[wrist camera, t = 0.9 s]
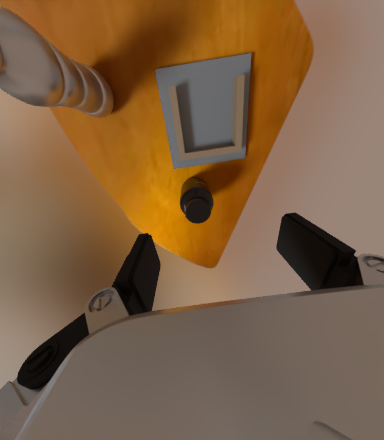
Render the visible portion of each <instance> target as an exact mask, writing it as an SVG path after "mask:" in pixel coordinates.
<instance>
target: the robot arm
mask: <svg viewBox="0 0 384 440" xmlns="http://www.w3.org/2000/svg"><path fill="white" fill-rule="evenodd" d="M277 250H278V252H279V253H280V254H281V255H282V256H283V258H284V259H285V260H286V261H287V262H288V263H289V265H290V266H291V267H292V268H293V269H294V271H295V272H296V273H297V274H298V275H299V276H300V277H301V279H302V280H303V281H304V282H305V283H306V285H307V286H308V287H309V288H310V289H311V290H312V291H304V292H296V293H288V294H279V295H272V296H263V297H256V298H247V299H239V300H231V301H224V302H215V303H208V304H200V305H192V306H186V307H177V308H170V309H165V310H157V311H152V307H153V302H154V296H155V291H156V286H157V281H158V276H159V271H160V260H159V257H158V254H157V251H156V248H155V245H154V242H153V239H152V236H151V235H149V234H148V233H145V234H139V236H138V237H137V239H136V241H135V243H134V245H133V247H132V249H131V252H130V253H129V255H128V256H127V257H126V259H125V261H124V263H123V265H122V267H121V269H120V271H119V273H118V275H117V277H116V279H115V281H114V283H113V285H112V287H107V288H103V289H101V290H100V291H98V292H96V293H95V294H94V295H93V296H92V297H91V298H90V299H89V300H88V302H87V303H86V306H85V313H84V314H82V315H81V316H80V317H78V318H77V319H75V320H74V321H73V322H71V323H70V324H69V325H67V326H66V327H64V328H63V329H62V330H60V331H59V332H58V333H56V334H55V335H54V336H52V337H51V338H50V339H48V340H47V341H46V342H44V343H43V344H42V345H40V346H39V347H38V348H37V349H35V350H34V351H33V352H32V353H31V355H30V356H29V357H28V358H27V359H26V360H25V362H24V363H23V364H22V367H21V368H20V370H19V372H18V377H17V378H16V379H15V381H13V382H10V381H9V382H7V383H6V385H4V386H3V387H2V388H1V389H0V440H384V257H382V256H378V255H373V254H361V255H359V256H358V257H355V256H354V253H355V252H356V251H355V250H354V249H353V248H351V247H349V246H348V245H346V244H345V243H343V242H341V241H340V240H338V239H337V238H335V237H333V236H332V235H330V234H329V233H327V232H326V231H324V230H322V229H321V228H319V227H317V226H316V225H314V224H313V223H311V222H310V221H308V220H306V219H305V218H303V217H302V216H300V215H298V214H297V213H289V214H285V215H284V216H283V217H282V220H281V225H280V231H279V236H278V241H277Z"/></svg>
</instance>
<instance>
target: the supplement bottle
mask: <svg viewBox="0 0 384 440" xmlns="http://www.w3.org/2000/svg"><path fill="white" fill-rule="evenodd" d="M180 207H181V210H182V212H183V213H184V214H185V215H186V217H187V219H188V220H189V221H190V222H192V223H197V224H198V223H203V222H205V221H206V220H207V219H208V218H209V217H210V215H211V214H210V213H211V210H212V208H213V197H212V195H211V192H210V190H209V188H208V185H207V183H206V182H205V181H204V180H202V179H201V178H197V177H193V178H190V179H188V180H186V181H185V182H184V184H183V185H182V188H181V197H180Z"/></svg>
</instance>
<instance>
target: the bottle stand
mask: <svg viewBox="0 0 384 440" xmlns="http://www.w3.org/2000/svg"><path fill="white" fill-rule="evenodd" d="M250 69H251V53H249V54H243V55H237V56H231V57H225V58H219V59H213V60H207V61H201V62H195V63H189V64H183V65H177V66H171V67H165V68H159V69H155V73H156V78H157V83H158V89H159V94H160V99H161V104H162V109H163V115H164V120H165V125H166V130H167V136H168V141H169V146H170V151H171V157H172V162H173V167H174V169H176V168H183V167H189V166H196V165H203V164H210V163H216V162H223V161H230V160H237V159H243V158H245V154H246V137H247V120H248V103H249V86H250Z"/></svg>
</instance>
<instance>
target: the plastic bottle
mask: <svg viewBox="0 0 384 440" xmlns="http://www.w3.org/2000/svg"><path fill="white" fill-rule="evenodd" d="M0 88H1V89H2V90H3V91H4V92H6V93H8V94H9V95H11V96H13V97H15V98H16V99H19V100H20V101H23V102H25V103H27V104H30V105H34V106H42V107H59V106H62V107H70V108H74V109H77V110H80V111H82V112H83V113H86V114H88V115H90V116H92V117H97V118H100V117H105V116H107V115H109V114H110V113H111V112H112V110H113V107H114V97H113V93H112V90H111V88H110V86H109V84H108V83H107V82H106V80H105V79H104V78H103V77H102V76H101V74H100V73H99V72H97V71H96V70H95V69H93V68H91V67H90V66H87V65H85V64H82V63H78V62H76V61H74V60H72V59H70V58H68V57H67V56H66V55H64V54H63V53H62V52H60V51H59V50H58V49H56V48H55V47H54V46H53V45H52V44H51V43H50V42H49V41H48V40H47V39H46V38H44V37H43V36H42V35H41V34H40V33H39V32H38V31H37V30H36V29H35V28H33V27H32V26H31V25H30V24H28V23H27V22H26V21H25V20H23V19H22V18H21V17H19V16H18V15H17V14H15V13H13V12H12V11H10V10H8V9H6V8H3V7H0Z"/></svg>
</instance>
